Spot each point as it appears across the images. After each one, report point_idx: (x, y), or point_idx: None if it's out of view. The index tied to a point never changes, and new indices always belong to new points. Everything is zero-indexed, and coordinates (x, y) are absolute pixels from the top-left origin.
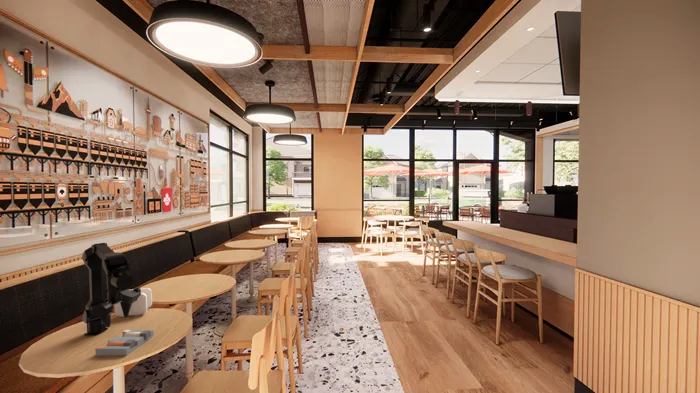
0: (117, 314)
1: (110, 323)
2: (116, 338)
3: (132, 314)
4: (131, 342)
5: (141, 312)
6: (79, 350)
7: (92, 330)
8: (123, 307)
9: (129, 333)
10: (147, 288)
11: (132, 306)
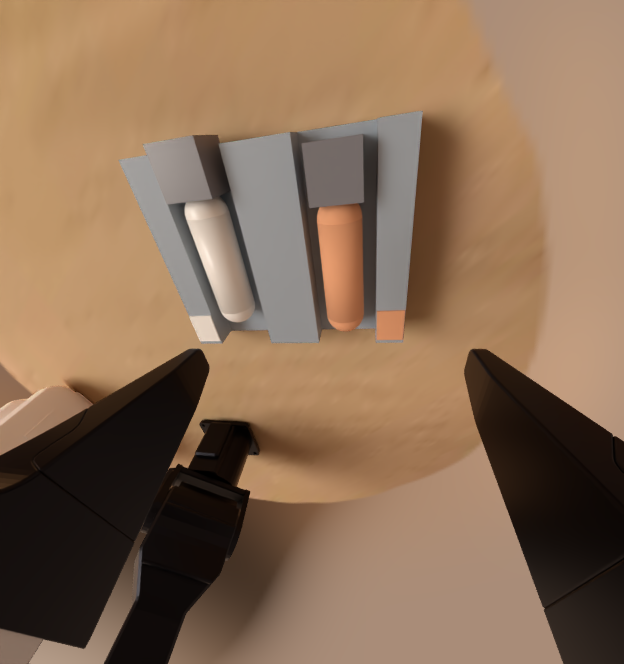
0: None
1: (493, 373)
2: (286, 321)
3: None
4: (344, 137)
5: (67, 396)
6: (353, 405)
7: (244, 449)
8: (137, 490)
9: (230, 285)
10: None
11: None
